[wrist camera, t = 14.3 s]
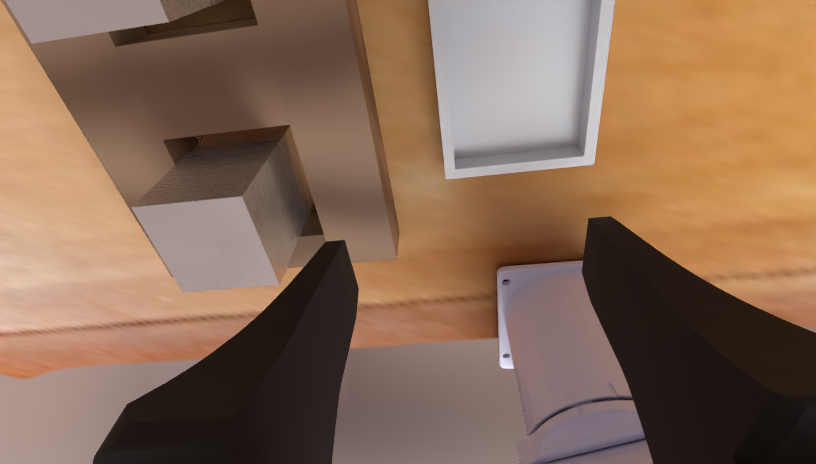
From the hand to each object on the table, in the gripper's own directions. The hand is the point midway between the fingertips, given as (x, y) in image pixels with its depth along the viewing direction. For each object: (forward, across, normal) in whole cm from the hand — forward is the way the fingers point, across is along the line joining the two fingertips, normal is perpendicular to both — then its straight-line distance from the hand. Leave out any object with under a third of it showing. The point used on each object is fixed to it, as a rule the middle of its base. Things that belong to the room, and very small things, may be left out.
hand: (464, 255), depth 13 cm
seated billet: (+10, +10, +1) cm, 14 cm away
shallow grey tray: (+10, -3, -2) cm, 11 cm away
